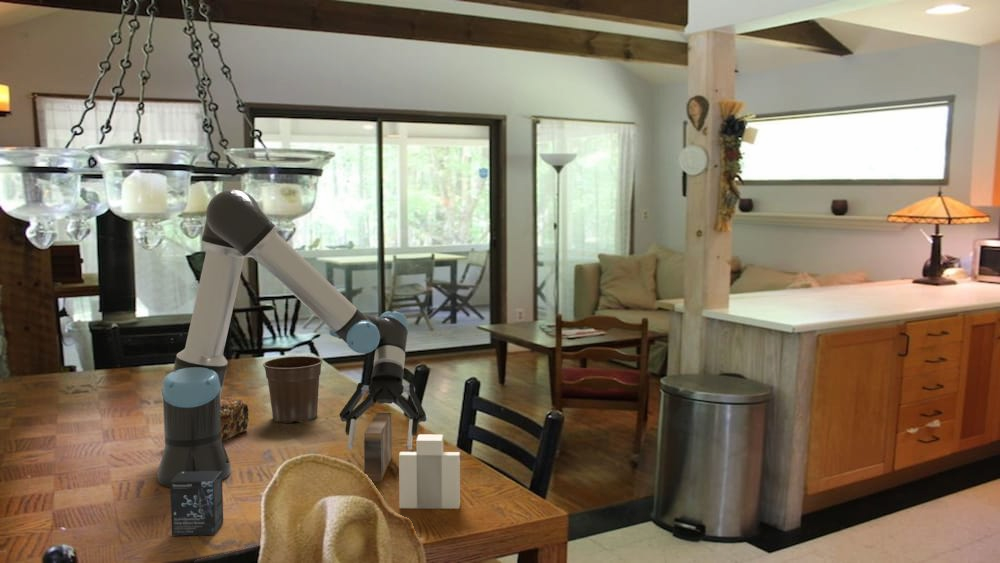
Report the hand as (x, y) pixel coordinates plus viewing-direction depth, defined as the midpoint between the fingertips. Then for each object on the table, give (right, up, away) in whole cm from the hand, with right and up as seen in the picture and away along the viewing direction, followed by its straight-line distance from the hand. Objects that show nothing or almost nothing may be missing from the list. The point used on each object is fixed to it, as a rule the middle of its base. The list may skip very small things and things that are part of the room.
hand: (379, 447), depth 177 cm
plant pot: (-31, -1, +41) cm, 51 cm away
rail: (0, -5, 0) cm, 5 cm away
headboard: (+13, -7, -18) cm, 24 cm away
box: (-29, -9, -32) cm, 44 cm away
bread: (-47, -3, +22) cm, 52 cm away
